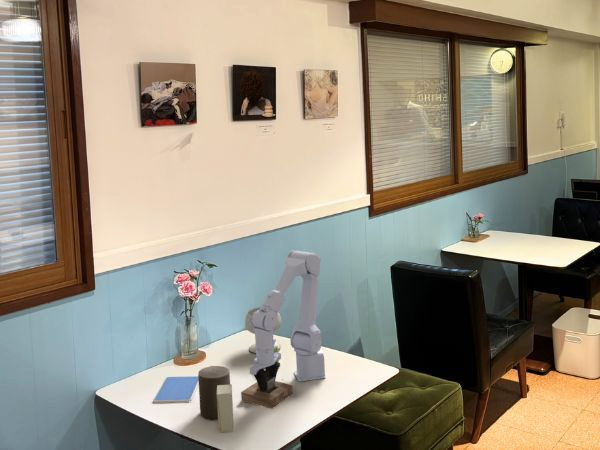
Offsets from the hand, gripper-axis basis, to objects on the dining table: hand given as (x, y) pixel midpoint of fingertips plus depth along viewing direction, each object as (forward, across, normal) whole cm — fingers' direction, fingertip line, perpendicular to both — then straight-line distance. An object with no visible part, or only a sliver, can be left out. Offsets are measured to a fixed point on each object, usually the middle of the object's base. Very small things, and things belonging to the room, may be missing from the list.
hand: (267, 387), depth 212 cm
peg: (+2, 0, 0) cm, 2 cm away
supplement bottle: (+4, -23, -15) cm, 28 cm away
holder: (+3, 0, 0) cm, 3 cm away
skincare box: (+4, +22, +1) cm, 22 cm away
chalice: (+4, -34, -26) cm, 43 cm away
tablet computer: (+4, +9, -30) cm, 32 cm away
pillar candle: (+4, +16, -8) cm, 18 cm away
